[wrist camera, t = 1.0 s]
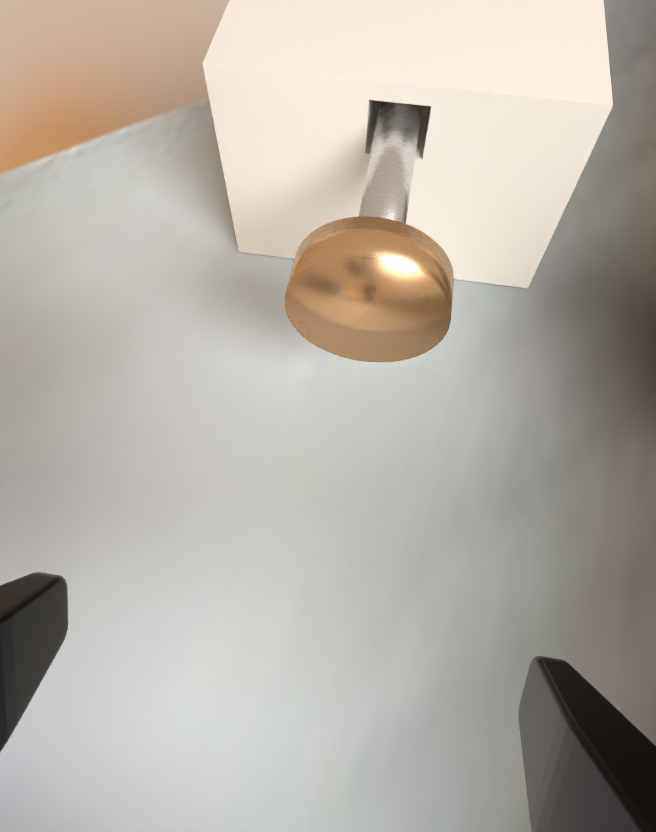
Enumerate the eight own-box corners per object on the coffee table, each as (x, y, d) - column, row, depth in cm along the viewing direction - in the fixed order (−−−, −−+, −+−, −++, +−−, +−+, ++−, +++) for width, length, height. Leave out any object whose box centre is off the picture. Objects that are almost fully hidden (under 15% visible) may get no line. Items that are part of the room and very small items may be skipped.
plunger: (435, 371, 20) (466, 270, 15) (289, 350, 20) (278, 247, 16) (456, 151, 25) (484, 26, 20) (338, 138, 25) (341, 13, 21)
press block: (527, 288, 28) (613, 105, 19) (238, 251, 29) (202, 63, 20) (528, 171, 31) (601, -25, 23) (272, 143, 32) (252, -55, 24)
